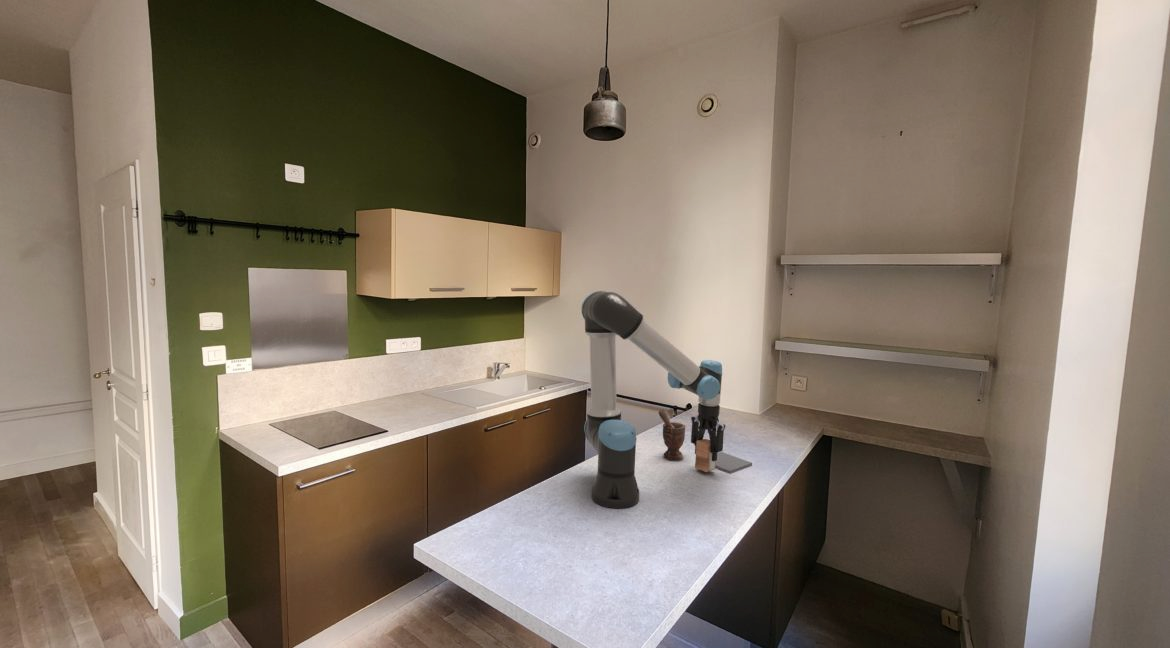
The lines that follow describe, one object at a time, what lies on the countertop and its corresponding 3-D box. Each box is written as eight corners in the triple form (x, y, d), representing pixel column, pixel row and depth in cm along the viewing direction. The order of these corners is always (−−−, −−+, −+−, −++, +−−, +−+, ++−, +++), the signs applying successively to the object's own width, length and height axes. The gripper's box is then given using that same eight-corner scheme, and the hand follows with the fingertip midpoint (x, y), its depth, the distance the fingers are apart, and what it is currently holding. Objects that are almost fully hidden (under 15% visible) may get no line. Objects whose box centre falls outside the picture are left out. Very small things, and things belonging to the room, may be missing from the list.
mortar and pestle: (673, 465, 176) (676, 413, 174) (653, 459, 181) (655, 409, 179) (687, 457, 185) (690, 407, 183) (668, 452, 190) (670, 403, 188)
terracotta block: (706, 472, 167) (707, 444, 166) (695, 467, 171) (696, 440, 170) (714, 469, 170) (716, 442, 169) (703, 464, 174) (705, 438, 173)
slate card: (729, 473, 170) (729, 471, 170) (698, 461, 181) (698, 458, 181) (752, 465, 178) (752, 462, 178) (721, 454, 189) (721, 451, 189)
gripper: (736, 408, 164) (732, 472, 166) (695, 397, 178) (692, 456, 180) (723, 410, 159) (719, 477, 161) (682, 399, 174) (679, 460, 175)
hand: (705, 466), depth 171 cm, fingers closed on terracotta block, 5 cm apart
